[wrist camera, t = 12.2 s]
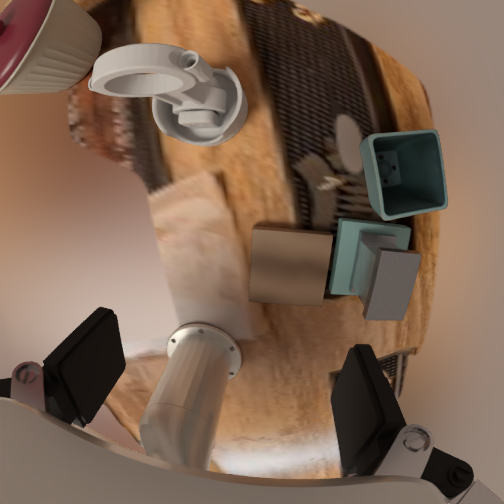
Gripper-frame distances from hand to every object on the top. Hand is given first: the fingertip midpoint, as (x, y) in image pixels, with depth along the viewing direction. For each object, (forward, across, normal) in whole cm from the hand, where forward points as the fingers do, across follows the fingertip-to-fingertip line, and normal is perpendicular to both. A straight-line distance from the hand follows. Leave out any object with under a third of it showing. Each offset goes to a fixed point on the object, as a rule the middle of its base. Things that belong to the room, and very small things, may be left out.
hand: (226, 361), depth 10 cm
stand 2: (+27, -15, +3) cm, 31 cm away
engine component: (+27, +8, -14) cm, 31 cm away
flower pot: (+27, -15, -9) cm, 32 cm away
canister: (+27, +33, -26) cm, 50 cm away
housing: (+25, -15, +3) cm, 29 cm away
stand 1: (+27, -4, +5) cm, 28 cm away
